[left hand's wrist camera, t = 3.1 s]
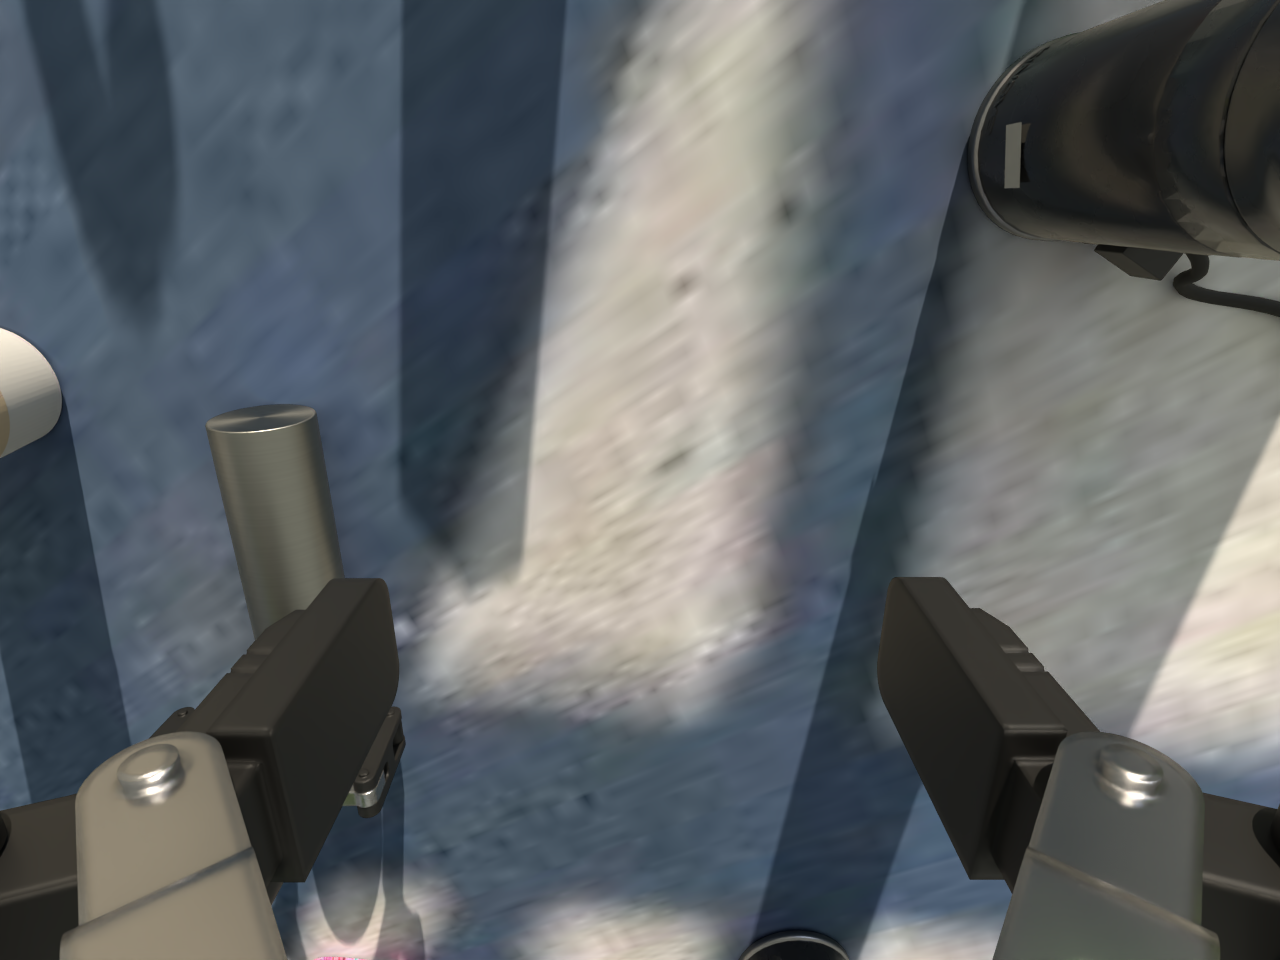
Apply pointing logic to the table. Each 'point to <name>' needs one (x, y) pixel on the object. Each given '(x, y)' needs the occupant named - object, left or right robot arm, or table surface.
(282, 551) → the rod
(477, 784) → the table surface
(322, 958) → the reddish pink block
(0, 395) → the coffee cup
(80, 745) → the table surface
